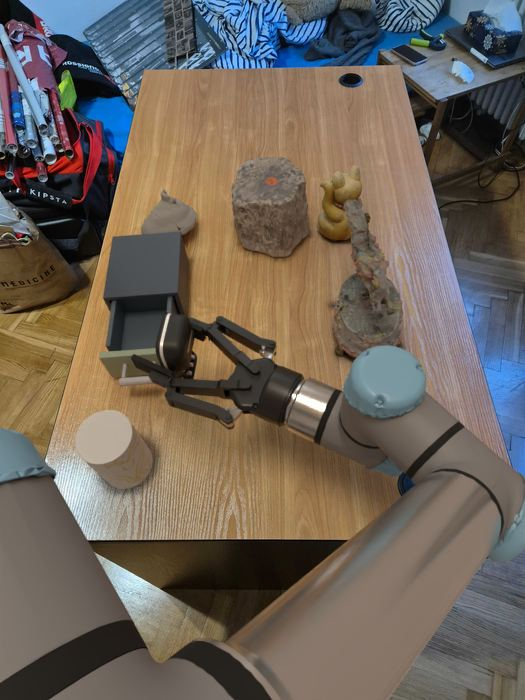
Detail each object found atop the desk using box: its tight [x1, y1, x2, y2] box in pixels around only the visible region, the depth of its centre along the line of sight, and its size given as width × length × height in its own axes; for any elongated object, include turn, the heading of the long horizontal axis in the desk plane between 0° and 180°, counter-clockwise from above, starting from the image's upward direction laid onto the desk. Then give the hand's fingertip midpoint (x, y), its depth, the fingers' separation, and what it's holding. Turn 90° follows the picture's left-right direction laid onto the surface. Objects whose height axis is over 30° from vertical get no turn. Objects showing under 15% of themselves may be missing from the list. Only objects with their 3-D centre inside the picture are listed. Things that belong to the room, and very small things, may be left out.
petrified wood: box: [231, 156, 311, 258], centre depth 98 cm, size 19×17×15 cm
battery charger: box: [155, 313, 198, 379], centre depth 66 cm, size 7×4×11 cm, turn 175°
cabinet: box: [102, 231, 189, 317], centre depth 92 cm, size 16×14×9 cm
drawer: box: [99, 295, 179, 387], centre depth 84 cm, size 19×12×7 cm, turn 3°
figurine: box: [331, 200, 404, 359], centre depth 79 cm, size 20×13×25 cm, turn 177°
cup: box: [74, 409, 154, 490], centre depth 71 cm, size 8×8×12 cm
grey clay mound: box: [140, 188, 198, 236], centre depth 101 cm, size 12×12×11 cm
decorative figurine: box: [316, 164, 363, 243], centre depth 96 cm, size 10×8×15 cm
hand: (151, 339), depth 67 cm, fingers closed on battery charger, 7 cm apart
